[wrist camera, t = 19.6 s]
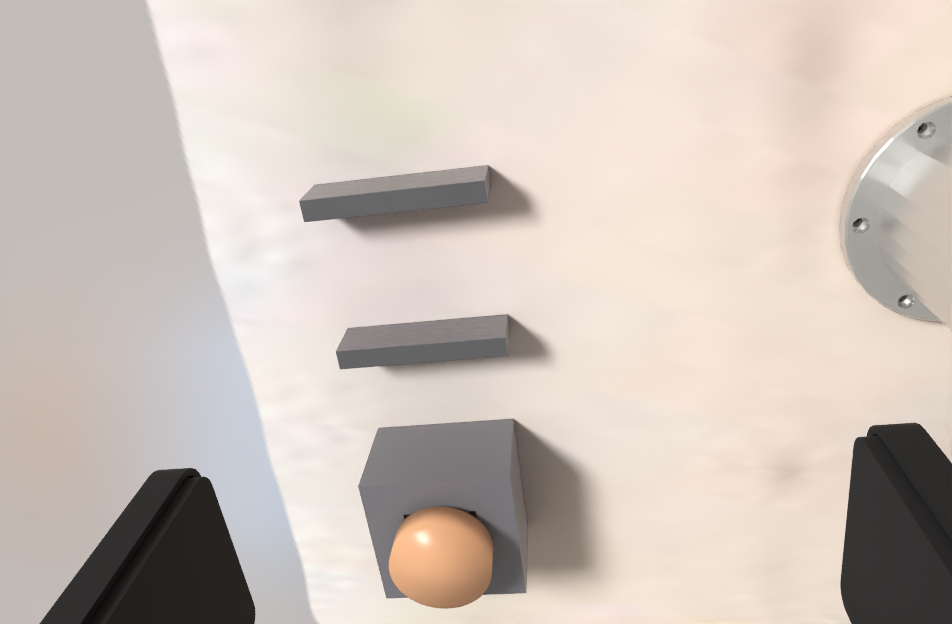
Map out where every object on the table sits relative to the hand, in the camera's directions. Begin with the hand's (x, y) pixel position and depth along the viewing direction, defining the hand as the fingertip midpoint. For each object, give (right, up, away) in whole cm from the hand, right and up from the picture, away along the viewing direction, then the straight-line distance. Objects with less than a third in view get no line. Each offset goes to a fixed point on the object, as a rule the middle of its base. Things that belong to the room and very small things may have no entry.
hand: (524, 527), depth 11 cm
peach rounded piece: (-2, -9, +39) cm, 40 cm away
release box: (-2, -8, +40) cm, 41 cm away
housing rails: (-4, +6, +33) cm, 34 cm away
